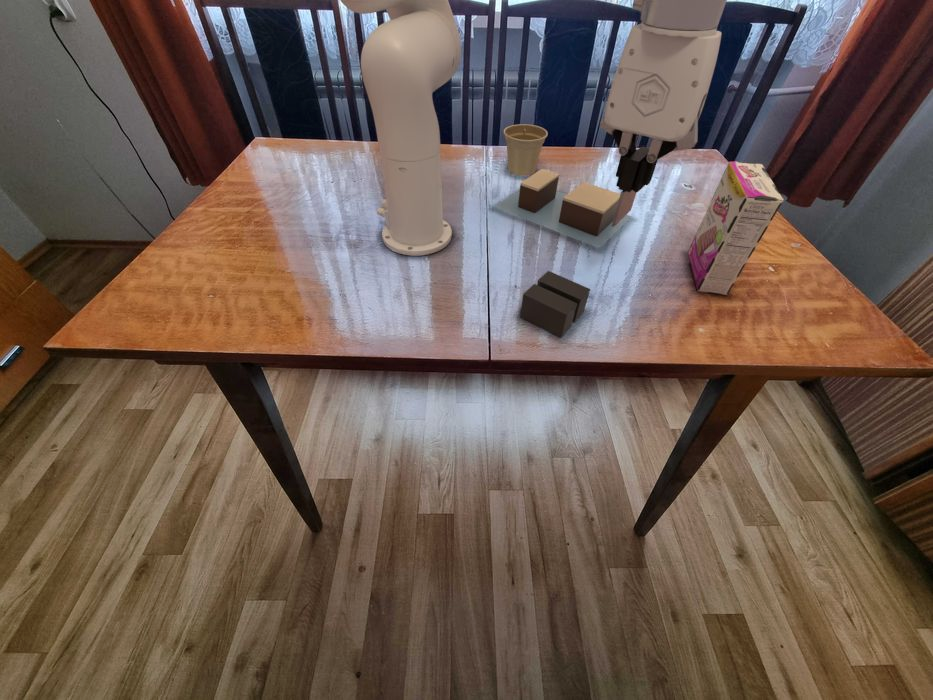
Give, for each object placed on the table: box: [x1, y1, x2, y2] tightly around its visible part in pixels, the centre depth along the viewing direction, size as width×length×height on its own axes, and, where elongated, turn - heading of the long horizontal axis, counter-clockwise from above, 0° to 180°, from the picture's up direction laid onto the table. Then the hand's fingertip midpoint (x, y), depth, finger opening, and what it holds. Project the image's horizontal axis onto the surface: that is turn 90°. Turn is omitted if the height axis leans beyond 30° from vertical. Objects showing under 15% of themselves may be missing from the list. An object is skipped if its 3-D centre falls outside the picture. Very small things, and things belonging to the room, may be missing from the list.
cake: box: [559, 181, 621, 236], centre depth 78 cm, size 8×8×5 cm
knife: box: [612, 145, 650, 227], centre depth 57 cm, size 6×2×9 cm, turn 142°
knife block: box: [519, 270, 591, 339], centre depth 61 cm, size 7×7×4 cm
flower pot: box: [503, 123, 549, 177], centre depth 92 cm, size 9×9×9 cm
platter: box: [493, 189, 632, 249], centre depth 83 cm, size 23×14×1 cm, turn 52°
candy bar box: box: [687, 161, 785, 296], centre depth 64 cm, size 11×5×16 cm, turn 168°
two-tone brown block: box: [518, 168, 560, 213], centre depth 83 cm, size 4×8×5 cm, turn 142°
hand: (631, 184), depth 56 cm, fingers closed on knife, 1 cm apart
